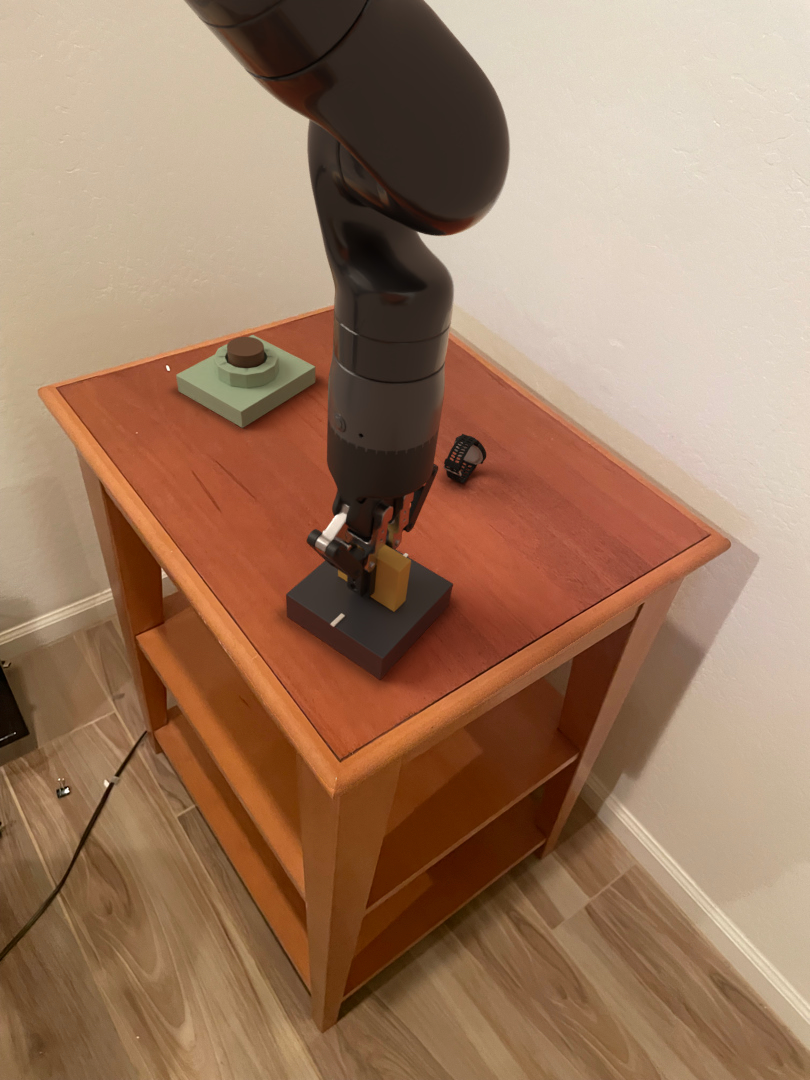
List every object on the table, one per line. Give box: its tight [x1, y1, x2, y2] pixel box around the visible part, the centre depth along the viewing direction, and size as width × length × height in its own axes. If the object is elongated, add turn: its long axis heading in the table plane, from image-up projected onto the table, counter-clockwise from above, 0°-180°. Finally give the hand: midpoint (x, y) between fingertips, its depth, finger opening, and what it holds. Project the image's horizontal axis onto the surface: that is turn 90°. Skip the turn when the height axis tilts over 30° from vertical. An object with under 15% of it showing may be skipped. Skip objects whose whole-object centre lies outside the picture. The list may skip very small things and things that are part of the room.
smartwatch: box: [443, 433, 487, 485], centre depth 75 cm, size 4×5×5 cm
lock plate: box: [285, 548, 454, 681], centre depth 62 cm, size 10×10×3 cm
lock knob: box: [338, 545, 411, 612], centre depth 59 cm, size 6×2×5 cm, turn 54°
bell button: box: [226, 336, 265, 369], centre depth 81 cm, size 4×4×2 cm
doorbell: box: [175, 334, 316, 429], centre depth 83 cm, size 12×10×4 cm
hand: (369, 582), depth 61 cm, fingers closed on lock knob
